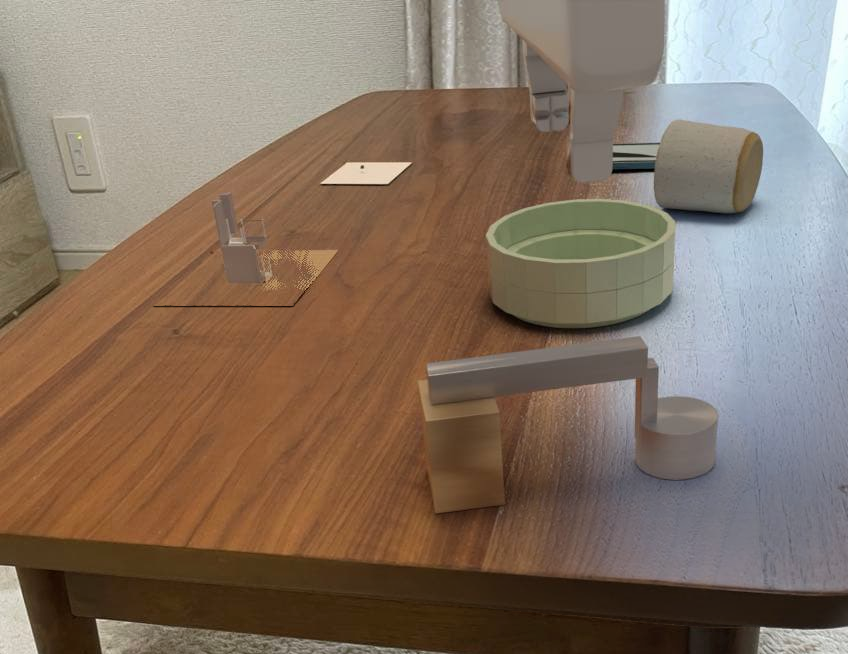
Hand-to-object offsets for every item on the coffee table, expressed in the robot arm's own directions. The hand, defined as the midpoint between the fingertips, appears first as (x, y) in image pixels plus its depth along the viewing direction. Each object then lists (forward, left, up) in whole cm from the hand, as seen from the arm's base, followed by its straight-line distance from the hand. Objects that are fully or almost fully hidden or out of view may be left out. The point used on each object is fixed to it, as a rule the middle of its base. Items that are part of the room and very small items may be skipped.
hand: (568, 151), depth 52 cm
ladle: (0, 0, -18) cm, 18 cm away
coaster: (+9, -68, -18) cm, 71 cm away
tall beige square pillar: (+6, 0, -18) cm, 19 cm away
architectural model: (+17, -43, -19) cm, 50 cm away
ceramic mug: (-22, -44, -19) cm, 52 cm away
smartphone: (-20, -60, -18) cm, 66 cm away
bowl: (-6, -26, -18) cm, 32 cm away
